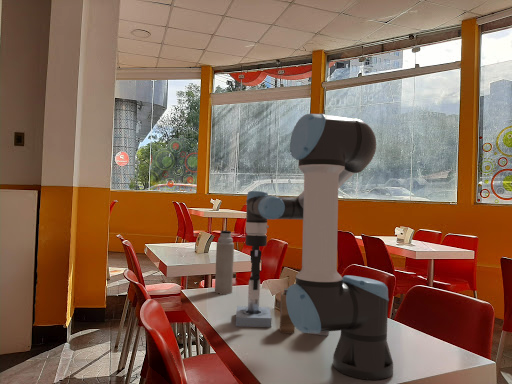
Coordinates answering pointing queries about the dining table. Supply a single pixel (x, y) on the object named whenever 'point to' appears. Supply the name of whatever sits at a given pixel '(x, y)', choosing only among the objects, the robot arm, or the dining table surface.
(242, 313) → the socket block
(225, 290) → the thermos bottle
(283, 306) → the square bit
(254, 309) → the silver slim bottle
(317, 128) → the robot arm
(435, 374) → the dining table surface
